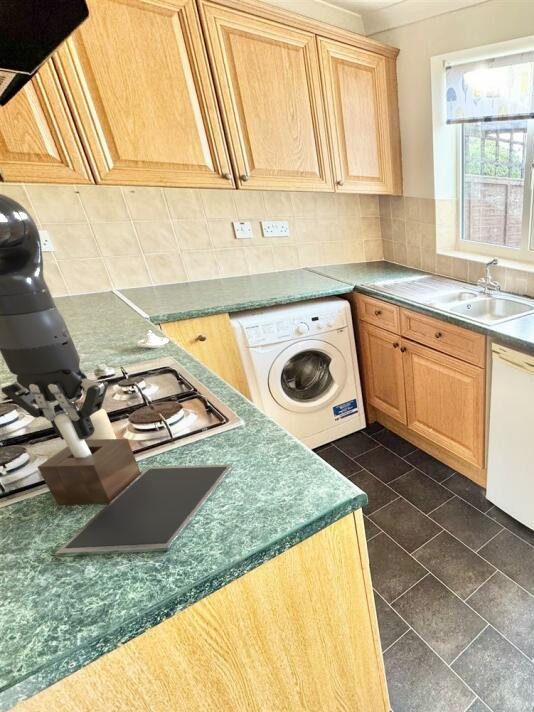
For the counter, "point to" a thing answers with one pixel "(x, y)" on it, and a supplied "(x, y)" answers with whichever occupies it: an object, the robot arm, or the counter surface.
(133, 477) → the stand
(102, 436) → the candle
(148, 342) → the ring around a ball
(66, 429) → the white rod
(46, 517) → the counter surface
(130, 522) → the tablet
